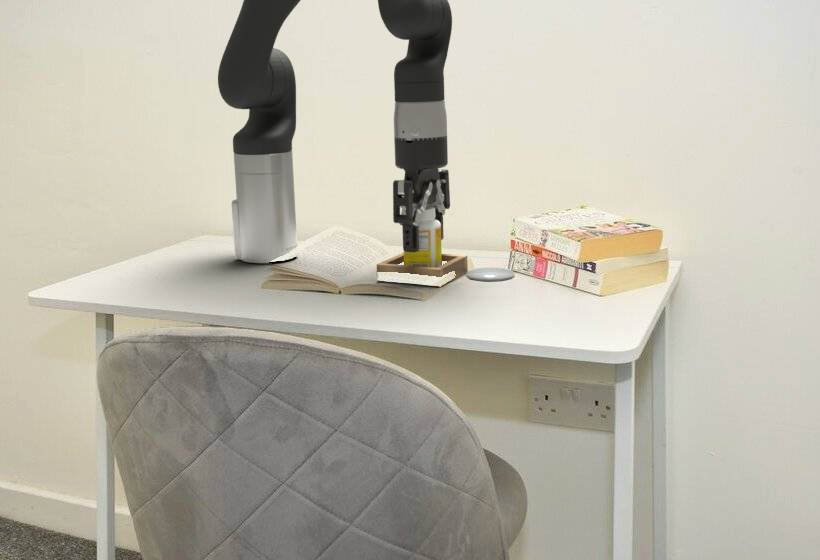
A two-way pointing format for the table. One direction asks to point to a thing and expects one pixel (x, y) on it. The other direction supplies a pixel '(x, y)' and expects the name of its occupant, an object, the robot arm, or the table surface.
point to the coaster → (490, 274)
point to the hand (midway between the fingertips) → (423, 245)
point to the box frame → (453, 264)
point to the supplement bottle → (427, 242)
